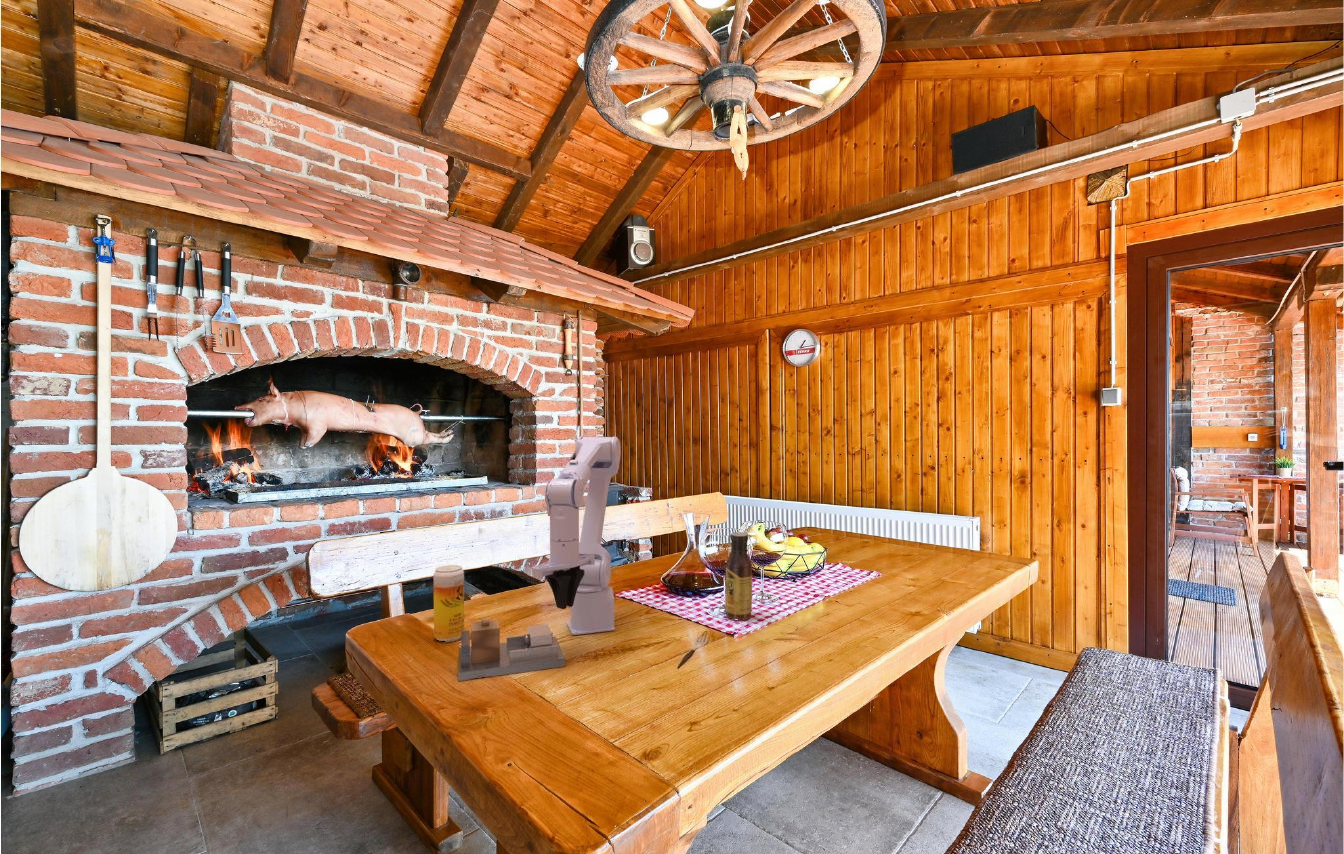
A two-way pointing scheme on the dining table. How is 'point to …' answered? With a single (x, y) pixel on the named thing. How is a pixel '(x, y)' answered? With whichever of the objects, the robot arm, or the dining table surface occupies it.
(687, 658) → the fork
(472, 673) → the press frame
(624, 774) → the dining table surface
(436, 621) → the beer can
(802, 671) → the dining table surface
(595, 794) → the dining table surface
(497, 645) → the block
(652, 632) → the dining table surface
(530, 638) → the ram
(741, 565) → the sauce bottle
